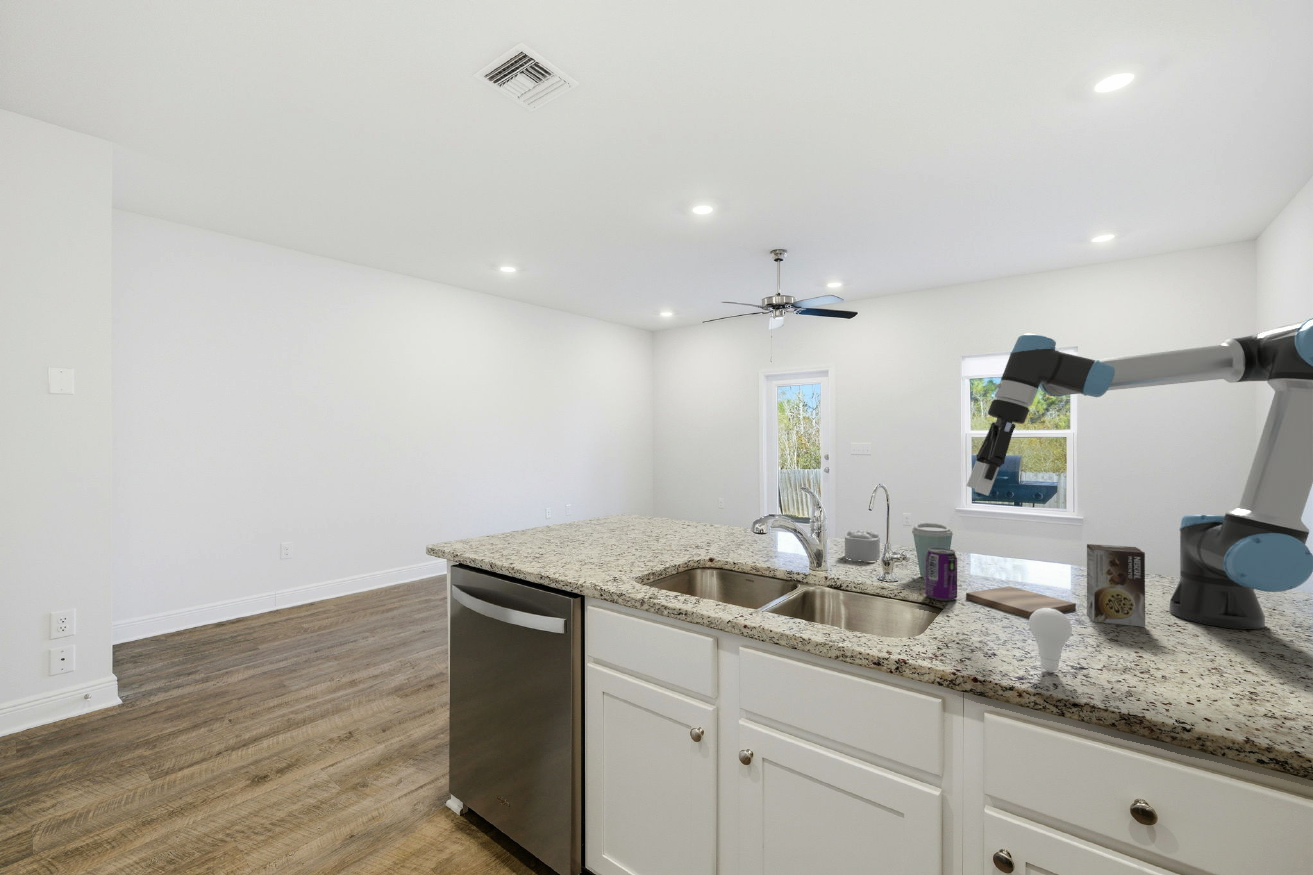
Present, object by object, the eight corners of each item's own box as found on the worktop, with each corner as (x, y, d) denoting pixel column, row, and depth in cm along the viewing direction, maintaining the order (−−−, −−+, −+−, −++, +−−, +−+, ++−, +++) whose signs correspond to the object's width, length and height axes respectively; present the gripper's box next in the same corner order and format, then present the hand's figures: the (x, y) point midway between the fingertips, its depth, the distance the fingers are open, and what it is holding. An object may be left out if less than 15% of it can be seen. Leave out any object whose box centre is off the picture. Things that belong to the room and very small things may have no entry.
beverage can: (961, 603, 138) (961, 553, 138) (929, 601, 139) (929, 552, 139) (952, 594, 145) (952, 547, 145) (922, 593, 146) (922, 546, 146)
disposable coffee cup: (959, 583, 155) (959, 529, 155) (917, 582, 157) (917, 527, 157) (945, 574, 166) (945, 522, 165) (906, 572, 167) (906, 521, 167)
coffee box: (1135, 619, 126) (1136, 546, 126) (1146, 628, 120) (1146, 552, 120) (1085, 613, 130) (1086, 542, 130) (1093, 621, 124) (1093, 548, 124)
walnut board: (1075, 609, 133) (1075, 603, 133) (1030, 618, 126) (1030, 611, 126) (1009, 591, 147) (1009, 586, 147) (965, 598, 141) (966, 592, 141)
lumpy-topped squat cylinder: (842, 559, 184) (842, 533, 184) (850, 552, 196) (850, 527, 196) (876, 563, 179) (876, 536, 179) (882, 555, 190) (882, 530, 190)
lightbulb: (1020, 665, 101) (1020, 603, 101) (1052, 664, 102) (1052, 602, 101) (1046, 680, 95) (1047, 614, 95) (1080, 679, 95) (1081, 613, 95)
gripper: (984, 401, 142) (953, 480, 144) (1004, 394, 118) (966, 489, 121) (1017, 410, 139) (985, 491, 142) (1044, 405, 116) (1005, 502, 119)
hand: (976, 490), depth 131 cm, fingers open, 13 cm apart
